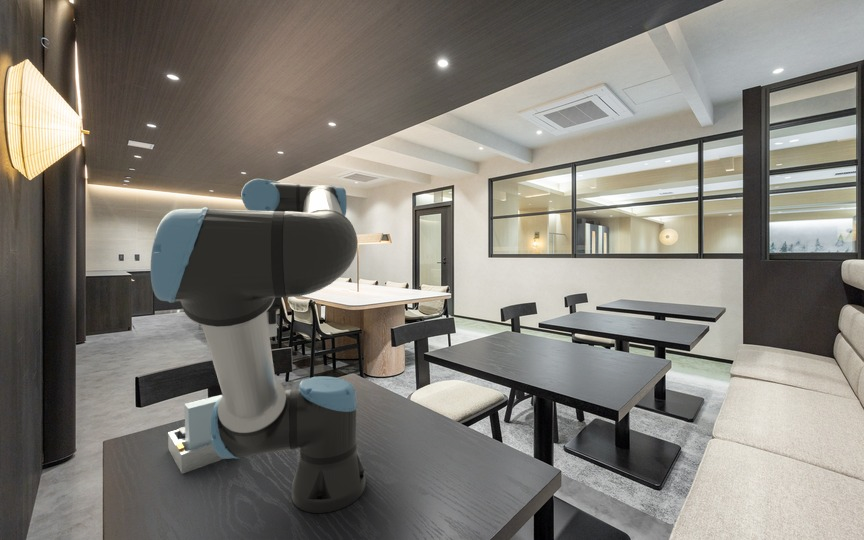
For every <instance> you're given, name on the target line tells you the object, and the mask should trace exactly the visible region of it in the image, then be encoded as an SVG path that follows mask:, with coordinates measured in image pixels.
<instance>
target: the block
mask: <svg viewBox="0 0 864 540" xmlns="http://www.w3.org/2000/svg"><path fill="white" fill-rule="evenodd" d="M222 396H223V395H222V394H219V395H215V396H211V397H210V396H209V397H207V398H203V399H199V400H195V401H190V402H186V403H184V405H183V406H184V407H183V408H184V427H185V441H186V451H188V450H191V449H195V448H198V447H201V446H204V445H207V444H210V443H212V435H211V431H210V422H211V415H212V410H213V407H214V405H215V403H216V402H217V400H219V399H220V398H221V397H222Z"/></svg>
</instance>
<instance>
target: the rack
mask: <svg viewBox="0 0 864 540" xmlns="http://www.w3.org/2000/svg"><path fill="white" fill-rule="evenodd" d="M167 436H168V437H167V438H168V439H167V443H168V451H169V453H170V455H171V457H172V458H173V461H174V462H175V464H176V466H177V467H178V469H179V472H180V473H181V475H182V474H185V473H189V472H191V471H194V470H197V469H200V468H203V467H205V466H207V465H211V464H213V463H216V462H217V463H218V462H219V461H222V460H226V459H225V458H221V457H220V456H218V455H217V453H216V452H215V450H214V448H213V445H212V443H210V444H207V445H204V446H201V447H198V448H195V449H191V450H188V451H186V441H185V426H182V427H179V428H178V429H176V430H172V431H168V432H167Z"/></svg>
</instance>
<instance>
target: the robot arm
mask: <svg viewBox="0 0 864 540" xmlns="http://www.w3.org/2000/svg"><path fill="white" fill-rule="evenodd" d="M240 194H241V201H242V202H243V205H244V207H245V210H243V209H242V210H240V209H211V208H210V209H209V207H206V206H205V207H202V208H178V209H173V210H171V211H169V212H168V213H166V214H165V215H164V216H163V218H162V219H161V221H160V222H159V224H158V226H157V228H156V232H155V234H154V239H153V242H152V249H151V254H150V255H151V257H150V281H151V288H152V291H153V294H154V296H155V297H156V299H158V300H159V301H161V302H168V303H170V304H171V303H172V304H173V303H175V302H180V303H181V307H182V309H183V312H184V314H185V316H186V317H187V318H188V319H189V320H190V321H192V322H194V323H195V324H197V325H199V326H202V327H201V328H202V330H203V333H204V336H205V340H206V344H207V347H208V351H209V354H210V357H211V361H212V364H213V367H214V371H215V374H216V376H217V380H218V384H219V387H220V390H221V395H222V397H221V398H220V399H219V400H217V402H216V403H215V405H214V407H213V410H212V415H211V422H210V431H211V435H212V445H213V448H214V450H215V452H216V453H217V455H218V456H220V457H221V458H225V459H224V460H227V459H229V460H230V459H236V460H237V459H244V458H245V457H246V458H247V457H252V456H257V455H258V456H260V455H264V454H270V453H271V454H272V453H277V452H283V451H289V450H298V449H299V453H300V454H299V461H298V463H297V464H298V465H297V467H296V470H295V474H294V477H293V480H292V483H291V501H292V503H293V504H294V505H295V506H296V507H297V509H299V510H301V511H304V512H307V513H313V514H323V513H324V514H325V513H331V512H336V511H339V510H341V509H344V508H346V507H349V506H350V505H351V504H353V503H355V502H356V501H357V500H358V499H359V498H360V497H361V496H362V495H363V493H364V491H365V489H366V471H365V469H364V466H363V463H362V460H361V457H360V455H359V452H358V446H357V444H358V442H357V441H358V439H357V437H358V435H357V433H358V432H357V431H358V430H357V409H358V402H357V395H356V389H355V386H354V385H353V384H352V383H351V382H350V381H348V380H346V379H342V378H340V377H336V376H335V377H334V376H325V375H324V376H323V375H321V376H313V377H310V378H309V377H308V378H304V379H302V380H301V381H300V383H299V384H298V387H297V388H291V389H290V388H289V389H285V388H284V386H283V385H282V384H281V382H280V381H278V380H277V379H276V376H275V375H276V374H275V367H274V362H273V361H274V359H273V353H272V345H271V338H272V337H273V338H275V337H277V336H278V326H277V325H278V323H277V319H278V317H277V315H278V314H277V311H278V310H280V309H281V307H282V298H293V297H294V298H295V297H296V298H298V297H303V296H305V295H306V296H307V295H310V294H311V295H312V294H313V293H316V292H318V291H321V290H323V289H324V288H326V287H328V286H330V285H332V284H333V283H334V282H335V281H337V280H338V279H339V278H341V276H343V275H344V273H346V271H347V270H348V269H349V268H350V267H351V265H352V263H353V262H354V260H355V257H356V255H357V251H358V241H359V240H358V236H357V233H356V232H357V231H356V230H355V228H354V226H353V223H352V222H351V221H350V220H349V219H348V217H346V214H347V205H348V204H347V203H348V202H347V191H346V189H345V188H344V187H343V186H336V185H335V186H334V185H333V184H332V185H331V184H330V185H329V184H328V185H320V184H319V185H317V184H298V183H297V184H296V183H287V182H285V183H283V182H282V183H281V182H278V181H276V180H273V179H272V180H271V179H269V180H268V179H263V178H254V179H251V180H249V181H248V182H246V183H245V184H244V186H243V188H242V189H241V192H240ZM246 209H247V210H246Z"/></svg>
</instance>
